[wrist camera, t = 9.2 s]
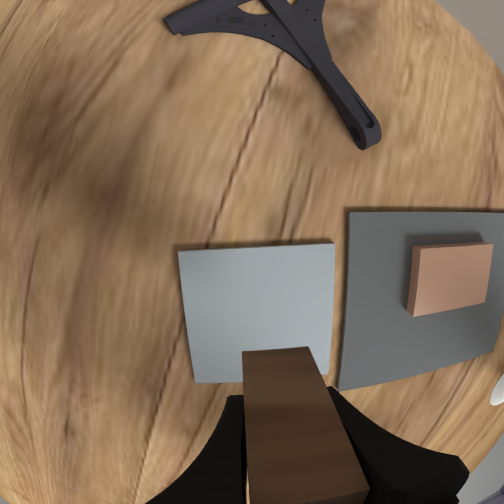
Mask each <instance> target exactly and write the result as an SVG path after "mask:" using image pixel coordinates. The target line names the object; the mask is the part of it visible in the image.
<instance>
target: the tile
mask: <svg viewBox="0 0 504 504" xmlns="http://www.w3.org/2000/svg"><path fill="white" fill-rule="evenodd" d="M492 250H493V244H491V243H488V242H469V243H452V244H434V245H417V246H413V250H412V263H411V275H410V285H409V293H408V302H407V309H406V311H407V312H408V313H409V314H410V315H412V316H413V317H415V316H420V315H426V314H431V313H437V312H442V311H447V310H452V309H457V308H462V307H466V306H471V305H475V304H480V303H484V302H485V298H486V293H487V287H488V281H489V274H490V267H491V259H492Z"/></svg>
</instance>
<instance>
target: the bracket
mask: <svg viewBox="0 0 504 504" xmlns="http://www.w3.org/2000/svg"><path fill="white" fill-rule="evenodd" d="M249 1H252V0H200V1H197V2H195V3H193V4H191V5H189V6H187V7H185V8H183V9H181V10H179V11H177V12H175V13H173V14H171V15H169V16H167V17H165V18H164V22H165V23H166V24H168V25H169V27H170V29H171V30H172V32H173V35H176V34H178V33H181V34H182V35H183V36H185V35H191V34H198V33H209V32H225V33H235V34H241V35H246V36H250V37H254V38H258V39H262V40H265V41H267V42H269V43H271V44H273V45H275V46H276V47H278V48H280V49H282V50H284V51H285V52H287V53H288V54H290V55H291V56H292V57H294V58H295V59H296V60H297V61H299V62H300V63H301V64H302V65H303V66H305V67H306V68H307V69H312V70H313V72H314V73H315V75H316V76H317V78H318V80H319V81H320V83H321V84H322V86H323V87H324V89H325V91H326V92H327V94H328V95H329V97H330V99H331V100H332V102H333V104H334V105H335V107H336V109H337V110H338V112H339V114H340V116H341V117H342V119H343V121H344V123H345V124H346V126H347V128H348V130H349V131H350V133H351V135H352V137H353V139H354V141H355V142H356V144H357V146H358V148H359V149H361V150H365V149H367V148H369V147H371V146H373V145H375V144H376V143H378V142H380V140H381V128H380V124H379V122H378V120H377V119H376V117H375V116H374V115H373V113H372V112H371V111H370V110H369V108H368V107H367V106H366V104H365V103H364V102H363V100H362V99H361V98H360V96H359V95H358V94H357V92H356V91H355V90H354V88H353V87H352V86H351V85H350V83H349V82H348V81H347V79H346V78H345V77H344V76H343V74H342V73H341V72H340V71H339V69H338V68H337V66H336V65H335V64H334V62H333V61H332V60H331V59H332V57H331V54H330V51H329V49H328V46H327V43H326V40H325V36H324V32H323V25H322V11H323V6H324V2H325V0H298V2H297V3H296V4H295V5H293V6H290V4H289V3H288V1H287V0H259V1H260V2H261V3H262V4H264V6H265V7H266V8H267V9H268V10H269V11H270V13H271V14H268V15H254V14H250V13H247V12H244V11H243V10H241V9H240V8H238V7H237V6H238V5H241V4H243V3H246V2H249Z"/></svg>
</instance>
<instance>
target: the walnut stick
mask: <svg viewBox="0 0 504 504" xmlns="http://www.w3.org/2000/svg"><path fill="white" fill-rule="evenodd" d="M242 372H243V392H244V412H245V430H246V448H247V465H248V481H249V496H250V504H363V503H364V501H365V499H366V497H367V495H368V493H369V490H370V487H369V485H368V483H367V480H366V478H365V476H364V473H363V471H362V468H361V466H360V464H359V461H358V459H357V457H356V454H355V452H354V450H353V447H352V445H351V443H350V440H349V438H348V436H347V433H346V431H345V429H344V426H343V424H342V422H341V419H340V417H339V415H338V412H337V410H336V408H335V405H334V403H333V401H332V399H331V396H330V394H329V392H328V389H327V387H326V385H325V383H324V380H323V378H322V376H321V373H320V371H319V369H318V367H317V364H316V362H315V360H314V357H313V355H312V353H311V351H310V348H309V346H304V347H294V348H282V349H269V350H254V351H242Z"/></svg>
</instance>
